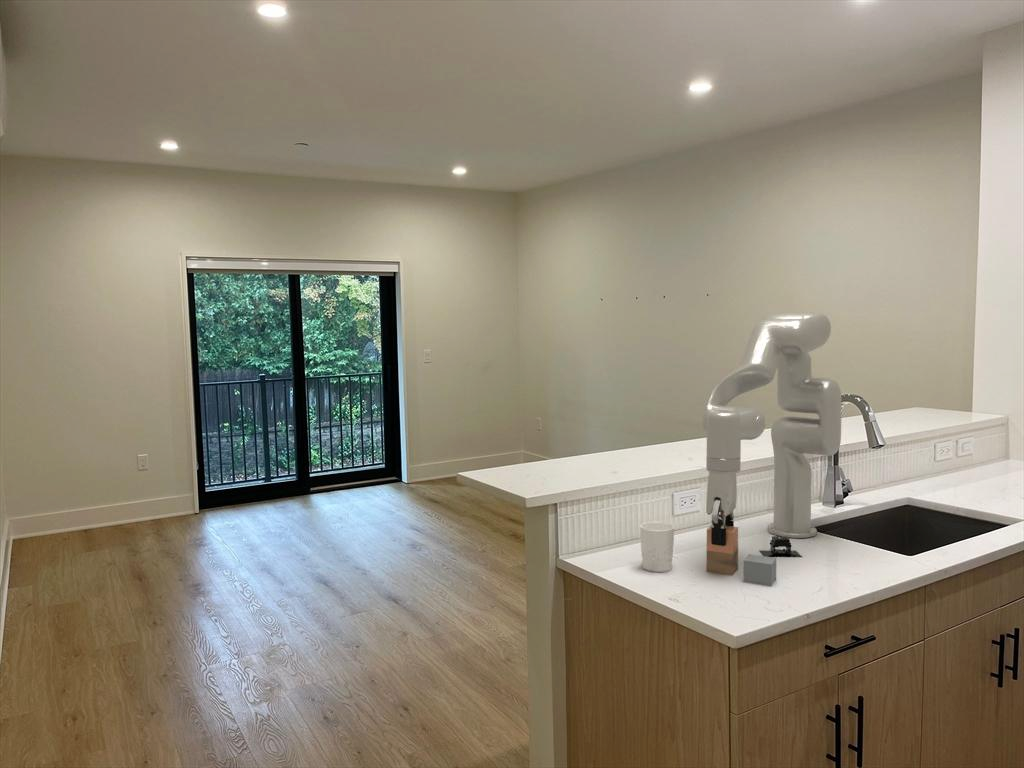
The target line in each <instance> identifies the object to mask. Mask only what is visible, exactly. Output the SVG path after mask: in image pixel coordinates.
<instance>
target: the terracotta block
mask: <svg viewBox="0 0 1024 768" xmlns="http://www.w3.org/2000/svg"><path fill="white" fill-rule="evenodd" d="M725 528H726V545H725V546H719V545H713V544H712V543H711V525H709V527H708V528H706V552H707V551H713V552H720V553H727V554H734V553H735V551H736V550H737V549H738V550H739V527H738V526H734V527H732V526H725Z"/></svg>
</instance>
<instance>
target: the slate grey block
mask: <svg viewBox="0 0 1024 768" xmlns="http://www.w3.org/2000/svg"><path fill="white" fill-rule="evenodd" d="M742 580H743V581H742V582H743V583H748V584H754V585H760V586H767V587H773V585H774V584H775V582H776V580H777V557H765V556H763V555H756V554H751V553H748V554H747V556H746V557H745V558H744V559H743V579H742Z"/></svg>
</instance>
